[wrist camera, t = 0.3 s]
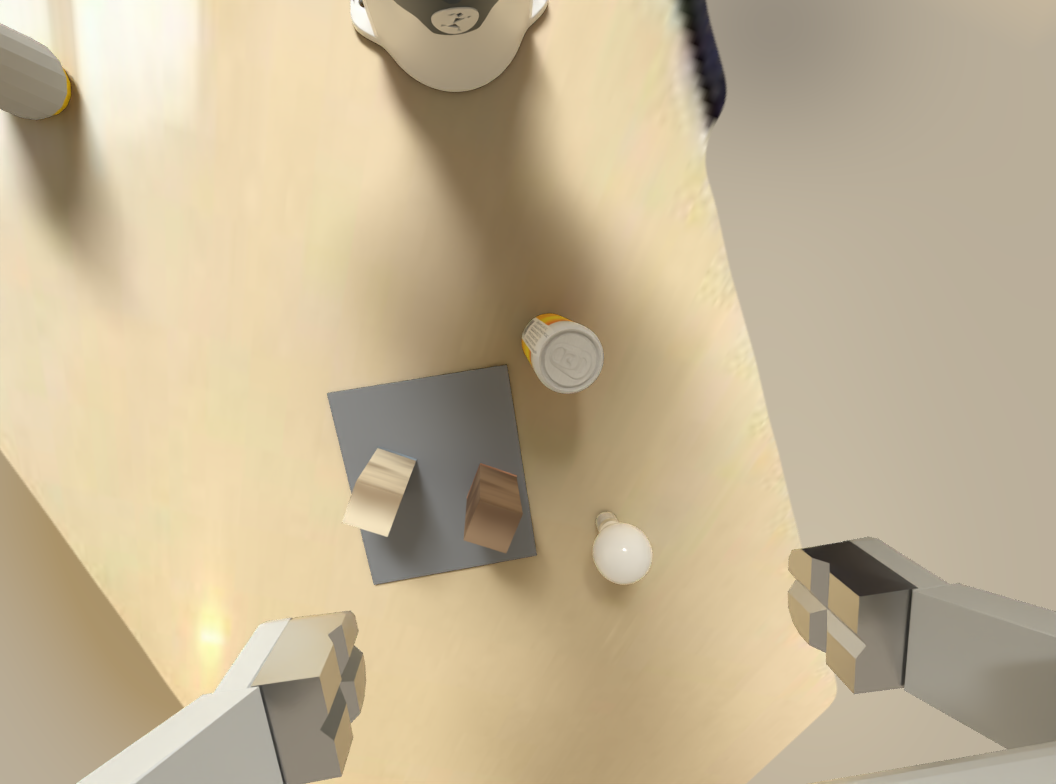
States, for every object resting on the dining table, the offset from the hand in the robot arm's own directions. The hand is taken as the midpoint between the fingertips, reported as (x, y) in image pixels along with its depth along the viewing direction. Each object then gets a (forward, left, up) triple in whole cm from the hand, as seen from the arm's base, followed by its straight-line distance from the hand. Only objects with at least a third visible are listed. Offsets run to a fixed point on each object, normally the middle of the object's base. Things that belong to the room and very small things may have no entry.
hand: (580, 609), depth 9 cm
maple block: (+13, -15, -47) cm, 50 cm away
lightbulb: (+24, +9, -47) cm, 54 cm away
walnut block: (+17, -4, -47) cm, 50 cm away
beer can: (+1, +5, -47) cm, 47 cm away
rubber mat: (+15, -10, -47) cm, 50 cm away
